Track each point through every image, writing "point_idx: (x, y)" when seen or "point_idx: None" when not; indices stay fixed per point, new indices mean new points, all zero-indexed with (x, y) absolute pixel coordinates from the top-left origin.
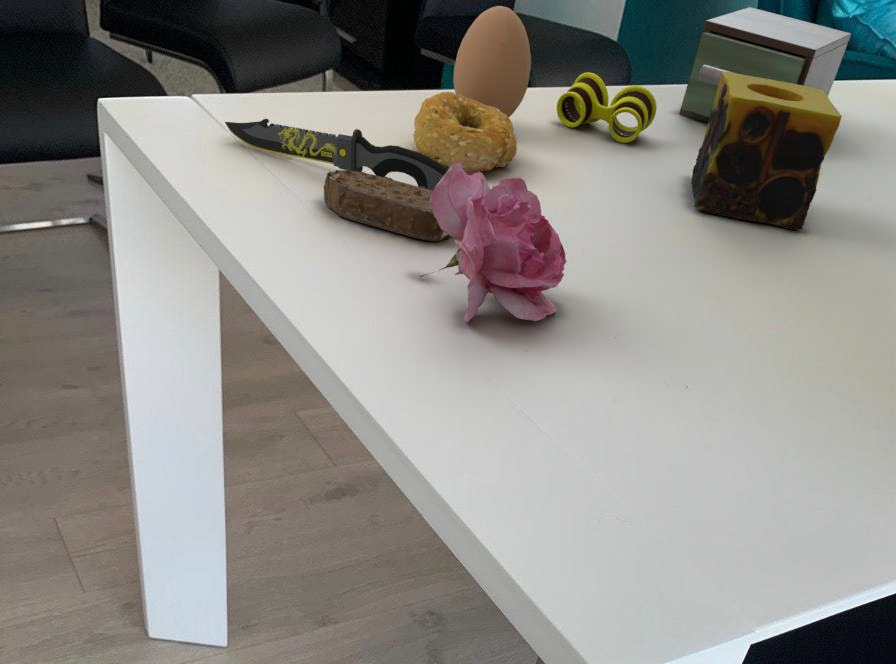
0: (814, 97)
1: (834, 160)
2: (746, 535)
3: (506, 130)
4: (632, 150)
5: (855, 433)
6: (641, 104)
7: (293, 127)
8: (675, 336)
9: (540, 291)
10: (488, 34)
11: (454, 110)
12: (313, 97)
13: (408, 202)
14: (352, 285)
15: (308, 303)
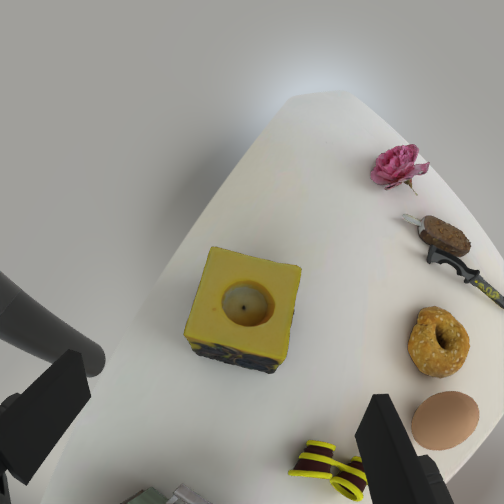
0: (209, 299)
1: (104, 458)
2: (318, 104)
3: (424, 329)
4: (310, 430)
5: (275, 127)
6: (312, 456)
7: (497, 291)
8: (326, 166)
9: (378, 178)
10: (468, 396)
11: (454, 341)
12: (500, 409)
13: (439, 220)
14: (431, 188)
15: (436, 178)
